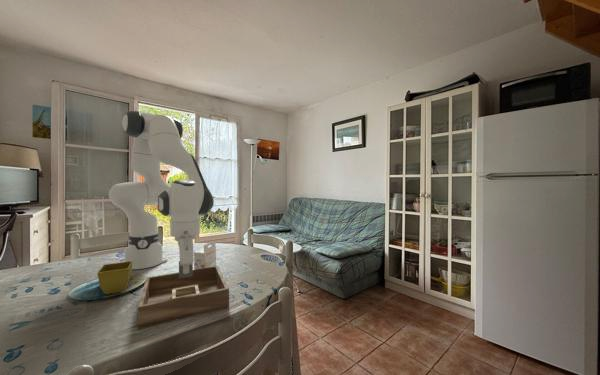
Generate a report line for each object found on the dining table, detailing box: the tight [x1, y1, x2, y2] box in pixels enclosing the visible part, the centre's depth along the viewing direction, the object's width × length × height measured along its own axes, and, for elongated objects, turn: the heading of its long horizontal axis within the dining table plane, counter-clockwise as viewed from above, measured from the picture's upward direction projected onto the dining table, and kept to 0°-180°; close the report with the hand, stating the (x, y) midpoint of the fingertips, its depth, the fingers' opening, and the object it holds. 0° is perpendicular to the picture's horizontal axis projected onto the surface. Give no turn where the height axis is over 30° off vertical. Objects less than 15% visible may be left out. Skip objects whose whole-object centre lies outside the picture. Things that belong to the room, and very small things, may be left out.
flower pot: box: [97, 261, 133, 295], centre depth 85 cm, size 9×9×9 cm
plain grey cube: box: [178, 260, 194, 278], centre depth 79 cm, size 4×4×4 cm
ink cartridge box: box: [193, 240, 217, 270], centre depth 98 cm, size 9×5×15 cm, turn 168°
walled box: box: [137, 265, 230, 330], centre depth 79 cm, size 22×24×6 cm
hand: (185, 270), depth 79 cm, fingers closed on plain grey cube, 4 cm apart
